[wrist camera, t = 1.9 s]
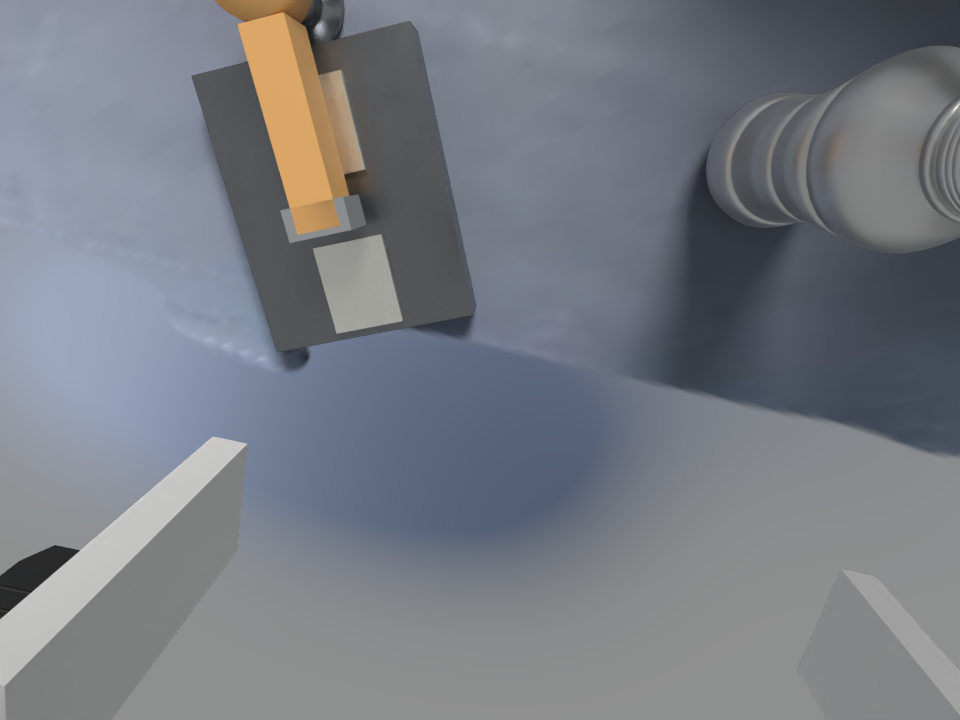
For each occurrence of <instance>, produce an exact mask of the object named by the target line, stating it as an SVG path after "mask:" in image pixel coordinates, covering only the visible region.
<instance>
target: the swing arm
mask: <svg viewBox="0 0 960 720" xmlns="http://www.w3.org/2000/svg"><path fill="white" fill-rule="evenodd" d="M215 1H216V2H217V3H218V4H219V5H220V6H221V7H222V8H223V9H224V10H225V11H227V12H228V13H230V14H232V15H234V16H235V17H237V18H239V19H241V20H243V21H245V22H244V23H240V24H237V25H238V28H239V32H240V35H241V39H242V42H243V46H244V49H245V53H246V56H247V60H248V63H249V67H250V70H251V74H252V77H253V81H254V84H255V88H256V91H257V95H258V98H259V102H260V105H261V109H262V112H263V116H264V119H265V123H266V126H267V130H268V133H269V137H270V140H271V144H272V147H273V151H274V154H275V158H276V161H277V165H278V168H279V172H280V175H281V179H282V182H283V186H284V189H285V193H286V196H287V200H288V203H289V207H290V208H289V209H284V210H280V211H281V215H282V218H283V222H284V225H285V229H286V232H287V235H288V239H289V242H290V243H293V242H297V241H302V240H307V239H311V238H316V237H321V236H326V235H330V234H335V233H340V232H345V231H349V230H353V229H356V228H359V227H362V226H364V225H366V221H365V218H364V214H363V210H362V206H361V202H360V198H359V194H358V195H351V196H349V192H348V188H347V184H346V181H345V177H344V173H343V169H342V165H341V161H340V157H339V153H338V150H337V146H336V142H335V138H334V134H333V130H332V126H331V122H330V119H329V115H328V111H327V107H326V103H325V99H324V95H323V91H322V88H321V84H320V80H319V76H318V72H317V68H316V64H315V60H314V57H313V53H312V49H311V45H310V41H309V37H308V33H307V29H306V27H305V26H304V25H302V24H301V22H302V21H303V20H304V19H305V18H306V16H307V14H308V13H309V10H310V8H311V5H312V1H313V0H215Z"/></svg>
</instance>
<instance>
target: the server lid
mask: <svg viewBox="0 0 960 720" xmlns="http://www.w3.org/2000/svg"><path fill="white" fill-rule="evenodd" d="M311 49H312V53H313V57H314V60H315V64H316V68H317V72H318V76H319V80H320V84H321V88H322V91H323V95H324V99H325V103H326V107H327V111H328V115H329V119H330V122H331V126H332V130H333V134H334V138H335V142H336V146H337V150H338V153H339V157H340V161H341V165H342V169H343V173H344V177H345V181H346V184H347V188H348V192H349V196H351V195H358V194H359V198H360V202H361V206H362V210H363V214H364V218H365V221H366V225H364V226H362V227H359V228H356V229H353V230H349V231H345V232H340V233H335V234H330V235H326V236H321V237H316V238H311V239H307V240H302V241H297V242H293V243H290V242H289V239H288V235H287V232H286V229H285V225H284V222H283V218H282V215H281V211H280V210H284V209H289V208H290V207H289V203H288V200H287V196H286V193H285V189H284V186H283V182H282V179H281V175H280V172H279V168H278V165H277V161H276V158H275V154H274V151H273V147H272V144H271V140H270V137H269V133H268V130H267V126H266V123H265V119H264V116H263V112H262V109H261V105H260V102H259V98H258V95H257V91H256V88H255V84H254V81H253V77H252V74H251V70H250V67H249V63H248V62H244V63H240V64H236V65H232V66H228V67H224V68H220V69H216V70H212V71H209V72H205V73H201V74H197V75H193V76H192V80H193V83H194V86H195V89H196V92H197V96H198V99H199V102H200V105H201V108H202V112H203V115H204V118H205V121H206V125H207V128H208V131H209V134H210V137H211V141H212V144H213V147H214V150H215V154H216V157H217V160H218V163H219V166H220V170H221V173H222V176H223V179H224V183H225V186H226V189H227V192H228V195H229V199H230V202H231V205H232V208H233V212H234V215H235V218H236V221H237V224H238V228H239V231H240V234H241V237H242V241H243V244H244V247H245V250H246V253H247V257H248V260H249V263H250V266H251V270H252V273H253V276H254V279H255V282H256V286H257V289H258V292H259V295H260V299H261V302H262V305H263V308H264V311H265V315H266V318H267V321H268V324H269V328H270V331H271V334H272V337H273V340H274V344H275V347H276V350H277V352H281V351H286V350H292V349H297V348H302V347H307V346H313V345H318V344H323V343H328V342H333V341H339V340H344V339H349V338H355V337H360V336H365V335H370V334H376V333H381V332H386V331H391V330H397V329H402V328H407V327H413V326H418V325H423V324H428V323H434V322H439V321H444V320H450V319H455V318H460V317H465V316H471V315H473V314H474V311H475V308H476V302H475V298H474V293H473V288H472V284H471V279H470V274H469V270H468V265H467V260H466V255H465V251H464V246H463V241H462V237H461V232H460V227H459V223H458V218H457V213H456V209H455V204H454V199H453V194H452V190H451V185H450V180H449V176H448V171H447V166H446V162H445V157H444V152H443V147H442V143H441V138H440V133H439V129H438V124H437V119H436V115H435V110H434V105H433V101H432V96H431V91H430V86H429V82H428V77H427V72H426V68H425V63H424V58H423V54H422V49H421V44H420V39H419V35H418V31H417V30H416V28H415V27H414V26H413V24H412V23H411V22H410V21H407V22H403V23H399V24H396V25H392V26H388V27H384V28H380V29H376V30H372V31H368V32H364V33H360V34H356V35H352V36H348V37H344V38H340V39H336V40H332V41H328V42H324V43H320V44H316V45H312V46H311Z"/></svg>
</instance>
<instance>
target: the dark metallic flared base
mask: <svg viewBox="0 0 960 720" xmlns="http://www.w3.org/2000/svg"><path fill="white" fill-rule="evenodd" d="M343 20H344V1H343V0H313V1H312V5H311V8H310V10H309V13H308V14H307V16H306V18H305V19H304V20H303V21H302V22H301V24H302V25H304V26H305V27H306V29H307V33H308V37H309V41H310V45H311V46H312V45H316V44H320V43H324V42H328V41H332V40H336V38H337V36H338V35H339V33H340V30H341V28H342V24H343Z"/></svg>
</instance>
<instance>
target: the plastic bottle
mask: <svg viewBox="0 0 960 720" xmlns="http://www.w3.org/2000/svg"><path fill="white" fill-rule="evenodd" d="M706 180H707V184H708V188H709V191H710V193H711V195H712V197H713V199H714V201H715V202H716V203H717V205H718V206H719V207H720V208H721V209H722V210H723V211H724V212H725V213H726V214H727V215H728V216H730V217H731V218H732V219H734V220H735V221H737V222H739V223H741V224H744V225H746V226H751V227H755V228H773V227H780V226H785V225H791V224H794V223H807V224H810V225H814V226H817V227H821V228H822V229H824V230H826V231H828V232H830V233H831V234H833V235H835V236H837V237H839V238H840V239H842V240H844V241H847V242H849V243H851V244H853V245H855V246H858V247H861V248H864V249H867V250H871V251H875V252H880V253H886V254H904V253H910V252H915V251H921V250H925V249H928V248H932V247H936V246H939V245H942V244H945V243H947V242H950V241H953V240H955V239H958V238H959V237H960V48H958V47H953V46H927V47H922V48H917V49H913V50H908V51H906V52H903V53H901V54H899V55H896V56H894V57H892V58H889V59H887V60H885V61H883V62H881V63H878V64H876V65H873V66H872V67H870V68H869V69H867V70H866V71H864V72H862V73H861V74H859V75H857V76H856V77H854V78H852V79H851V80H849V81H847V82H846V83H844V84H843V85H841V86H839V87H837V88H835V89H832V90H830V91H827V92H824V93H822V94H814V95H808V94H804V93H774V94H769V95H765V96H762V97H760V98H758V99H755V100H753V101H751V102H749V103H748V104H746V105H745V106H743V107H742V108H740V109H739V110H738V111H737V112H736V113H735V114H734V115H733V116H732V117H731V118H730V119H729V120H728V121H727V122H726V123H724V125H723V126H722V127H721V129H720V130H719V131H718V133H717V134H716V136H715V138H714V140H713V142H712V144H711V147H710V150H709V153H708V156H707V163H706Z"/></svg>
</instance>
